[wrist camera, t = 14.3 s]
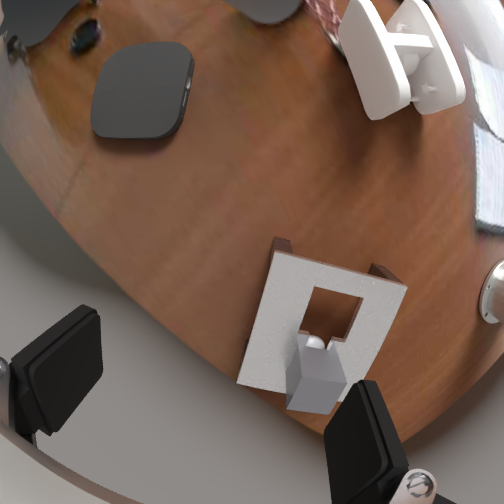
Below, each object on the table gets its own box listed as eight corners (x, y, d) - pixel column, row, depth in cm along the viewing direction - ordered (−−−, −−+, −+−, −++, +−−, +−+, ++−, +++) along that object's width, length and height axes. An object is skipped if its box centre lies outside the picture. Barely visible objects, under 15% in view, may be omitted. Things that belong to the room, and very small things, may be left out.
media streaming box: (114, 54, 31) (105, 48, 28) (200, 47, 30) (195, 38, 28) (95, 139, 35) (84, 138, 32) (181, 141, 34) (173, 138, 31)
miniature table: (383, 266, 36) (407, 286, 28) (339, 369, 40) (349, 402, 33) (274, 236, 36) (274, 251, 28) (242, 349, 41) (236, 383, 33)
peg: (332, 337, 34) (347, 383, 25) (319, 366, 35) (328, 414, 26) (296, 329, 34) (302, 376, 25) (284, 359, 35) (286, 409, 26)
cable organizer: (331, 30, 28) (348, -14, 17) (394, 30, 27) (425, -6, 15) (365, 123, 31) (401, 102, 20) (427, 117, 30) (474, 101, 19)
